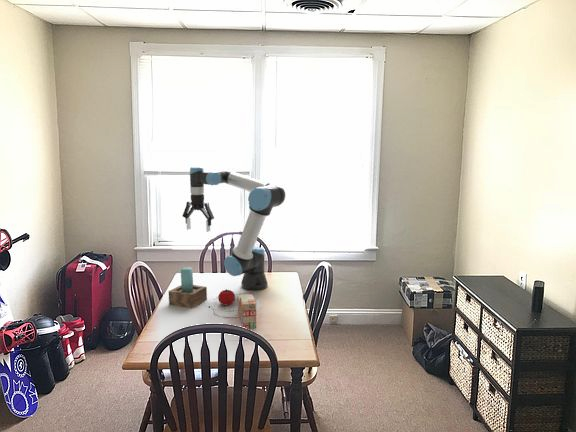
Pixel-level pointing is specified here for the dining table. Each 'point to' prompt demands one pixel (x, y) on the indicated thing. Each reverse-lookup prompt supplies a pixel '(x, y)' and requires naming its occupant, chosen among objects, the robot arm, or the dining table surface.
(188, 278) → the teal round block
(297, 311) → the dining table surface
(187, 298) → the wooden box
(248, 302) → the printed cardboard box
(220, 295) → the tomato
